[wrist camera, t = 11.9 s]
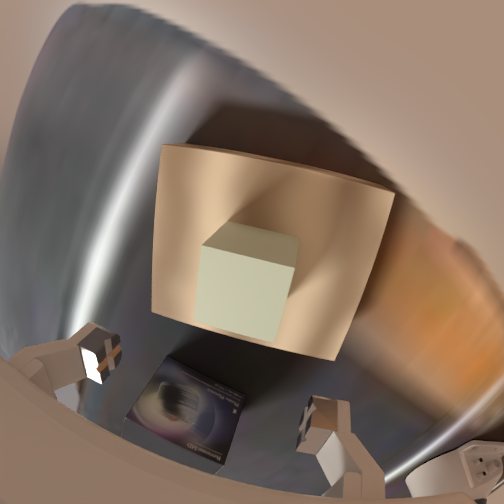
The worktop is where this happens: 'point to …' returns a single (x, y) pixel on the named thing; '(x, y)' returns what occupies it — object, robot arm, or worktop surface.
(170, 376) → the small box
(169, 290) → the birch platform
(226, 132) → the worktop surface
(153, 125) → the worktop surface
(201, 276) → the sage cube
